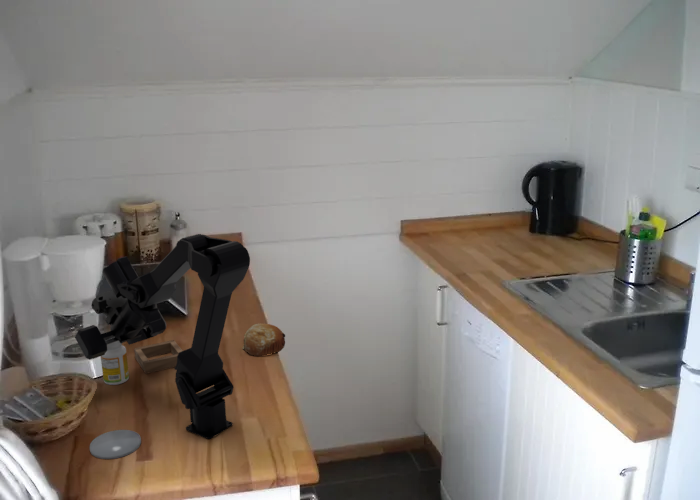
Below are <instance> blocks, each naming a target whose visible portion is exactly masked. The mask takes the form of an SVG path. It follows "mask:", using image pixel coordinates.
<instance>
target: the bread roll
mask: <svg viewBox="0 0 700 500" xmlns="http://www.w3.org/2000/svg"><path fill="white" fill-rule="evenodd" d="M243 336H244V339H243V346H242V350H244V351H245V352H246V353H247V352H248V354H249V355H250V356H253V355H254V357H263V356H262V355H267V354H271V353H274V352H277V353H278V354H279V353H280V352H281V351H282V350H283V349H284V348H285V346H286V345H285V344H286V339H285V338H286V334H285V333H284V332H283V330H281V329H280V328H279V327H278V326H276V325H273V324H270V323H255V324H252V325H251V326H250V327H249V328H248V329H247V330H246V332H245V334H244V335H243ZM277 353H276V354H277Z"/></svg>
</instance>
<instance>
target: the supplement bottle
mask: <svg viewBox="0 0 700 500" xmlns="http://www.w3.org/2000/svg"><path fill="white" fill-rule="evenodd" d="M114 338H115V337H114ZM127 353H128V352H127V348H126V347H125V345H123V343H120V342H119V341H116V342H113V343H111V344H108V345H107V351H106V353H105V355H102V356H100V361H101V362H100V363H101V370H102V379H103V382H104V383H105V384H106V385H111V386H116V385H121V384H123V383H126V382H127V381H128V380H129V378H130V374H129V373H130V371H129V365H128V356H127Z"/></svg>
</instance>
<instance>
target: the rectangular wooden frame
mask: <svg viewBox="0 0 700 500" xmlns="http://www.w3.org/2000/svg"><path fill="white" fill-rule="evenodd" d="M133 351H134V358H135V360H136V362H137V363H138V365H139V366H140V367H141V369H142V371H143V372H144V374H150V373H154V372H155V373H156V372H159V371H164V370H168V369H171V368H172V369H173V368H175V367H176V364H177V356H178V354H179V352H182V351H184V350H183V349H182V348H181V347H180V345H179V344H178V343H177V342H176V341H175V339H172V340H167V341H162V342H159V343H153V344H148V345H144V346H143V345H142V346H139V347H134V349H133ZM167 354H169V355H167ZM161 355H166V356H162V357H157V356H161ZM152 357H157V358H153V359H152ZM148 358H151V359H148Z"/></svg>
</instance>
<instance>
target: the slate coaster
mask: <svg viewBox="0 0 700 500" xmlns="http://www.w3.org/2000/svg"><path fill="white" fill-rule="evenodd" d="M141 444H142V438H141V436H140V434H139V433H138V432H136V431H134V430H131V429H130V430H129V429H115V430H111V431H107V432H105V433H102V434H100V435H98V436H97V437H95V438H94V439H93V440H92V441H91V442H90V444H89V451H90V454H91V456H93V457H94V458H97V459H103V460H113V459H114V460H115V459H118V458H123V457H125V456H128V455H131V454H132V453H134V452H136V451H137V450H138V449H139V448H140V446H141Z"/></svg>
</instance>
